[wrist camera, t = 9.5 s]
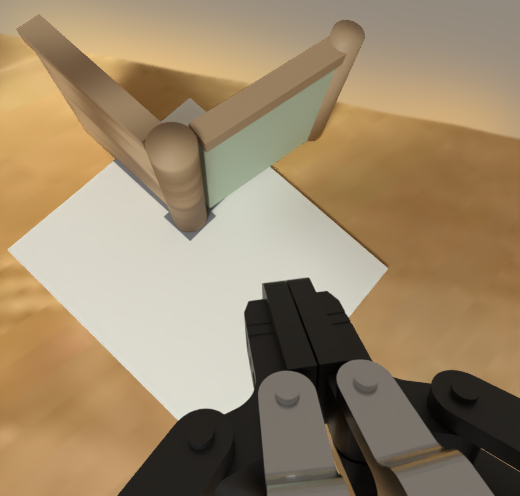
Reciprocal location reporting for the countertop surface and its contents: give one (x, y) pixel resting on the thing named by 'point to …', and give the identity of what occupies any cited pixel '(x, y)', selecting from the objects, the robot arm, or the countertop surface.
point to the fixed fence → (125, 126)
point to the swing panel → (274, 113)
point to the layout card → (187, 275)
